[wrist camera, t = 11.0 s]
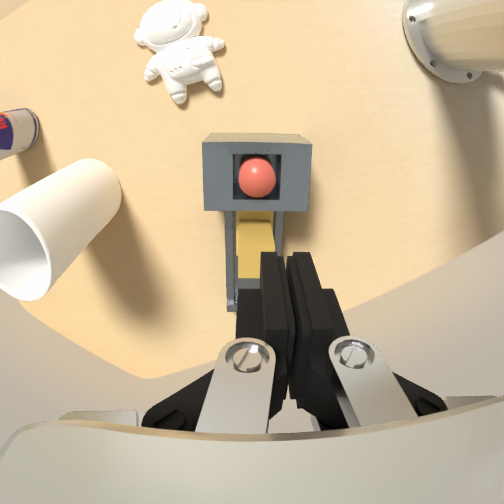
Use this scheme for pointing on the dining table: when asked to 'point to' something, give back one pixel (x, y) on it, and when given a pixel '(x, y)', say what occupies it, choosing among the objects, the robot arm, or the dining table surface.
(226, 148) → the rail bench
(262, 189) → the button
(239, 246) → the block
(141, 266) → the dining table surface
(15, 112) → the energy drink
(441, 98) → the dining table surface
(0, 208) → the cup
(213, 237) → the dining table surface
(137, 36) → the astronaut figurine
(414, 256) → the dining table surface
